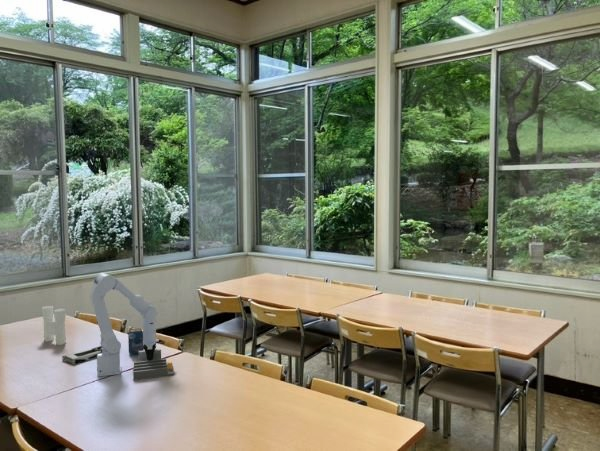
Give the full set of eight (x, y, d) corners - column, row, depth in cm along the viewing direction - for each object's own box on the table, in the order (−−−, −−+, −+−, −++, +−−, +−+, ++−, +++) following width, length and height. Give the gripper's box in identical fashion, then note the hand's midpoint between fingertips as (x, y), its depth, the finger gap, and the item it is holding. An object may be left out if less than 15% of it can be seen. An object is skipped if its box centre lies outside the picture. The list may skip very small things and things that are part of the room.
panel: (138, 364, 218) (138, 352, 218) (138, 363, 219) (138, 351, 219) (161, 362, 221) (161, 349, 221) (161, 361, 223) (161, 348, 222)
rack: (133, 380, 200) (133, 370, 200) (134, 369, 212) (133, 361, 212) (173, 375, 206) (173, 366, 205) (172, 365, 217) (171, 357, 217)
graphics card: (62, 355, 223) (110, 341, 244) (62, 362, 224) (110, 348, 244) (73, 359, 217) (121, 345, 238) (73, 367, 218) (121, 352, 238)
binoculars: (41, 340, 256) (40, 307, 255) (51, 337, 261) (50, 305, 260) (58, 345, 247) (57, 311, 245) (68, 342, 251) (67, 309, 250)
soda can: (134, 357, 229) (133, 333, 228) (125, 354, 233) (125, 330, 232) (146, 353, 234) (145, 329, 233) (138, 350, 238) (137, 327, 238)
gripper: (158, 334, 214) (159, 364, 215) (158, 326, 227) (158, 353, 228) (142, 336, 211) (143, 365, 212) (142, 327, 225) (143, 355, 226)
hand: (150, 359), depth 220 cm, fingers closed on panel, 2 cm apart
